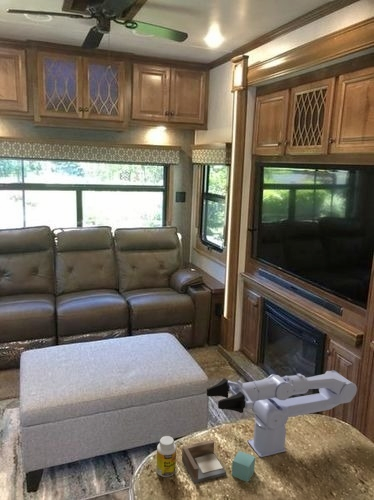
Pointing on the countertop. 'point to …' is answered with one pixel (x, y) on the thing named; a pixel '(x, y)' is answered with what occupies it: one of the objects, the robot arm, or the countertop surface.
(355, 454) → the countertop surface
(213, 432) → the countertop surface
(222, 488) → the countertop surface
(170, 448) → the supplement bottle
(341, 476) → the countertop surface
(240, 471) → the teal block
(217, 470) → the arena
